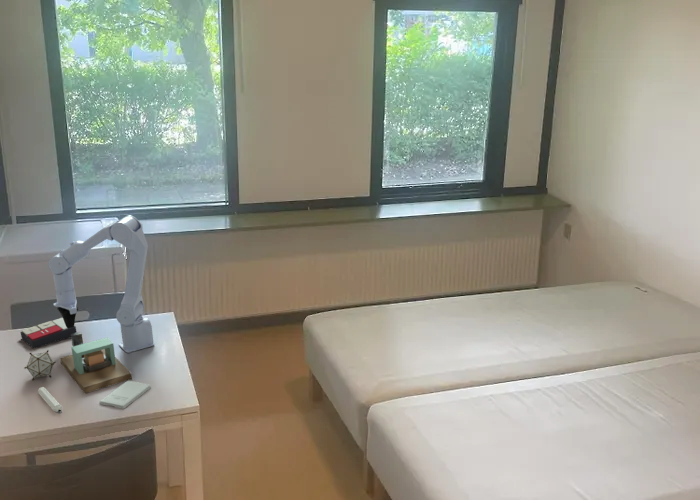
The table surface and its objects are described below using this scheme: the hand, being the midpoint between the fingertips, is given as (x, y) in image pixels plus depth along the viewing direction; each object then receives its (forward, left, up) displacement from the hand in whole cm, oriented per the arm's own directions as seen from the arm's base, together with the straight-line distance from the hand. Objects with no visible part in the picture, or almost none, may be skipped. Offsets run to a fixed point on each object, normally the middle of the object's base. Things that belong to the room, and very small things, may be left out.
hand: (70, 327), depth 225 cm
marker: (+16, +35, -7) cm, 39 cm away
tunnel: (0, +24, -5) cm, 24 cm away
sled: (0, +16, -4) cm, 17 cm away
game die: (+14, +17, -7) cm, 23 cm away
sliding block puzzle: (+4, -12, -7) cm, 15 cm away
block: (0, +24, -5) cm, 24 cm away
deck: (0, +24, -7) cm, 25 cm away
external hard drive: (-2, +44, -8) cm, 44 cm away
